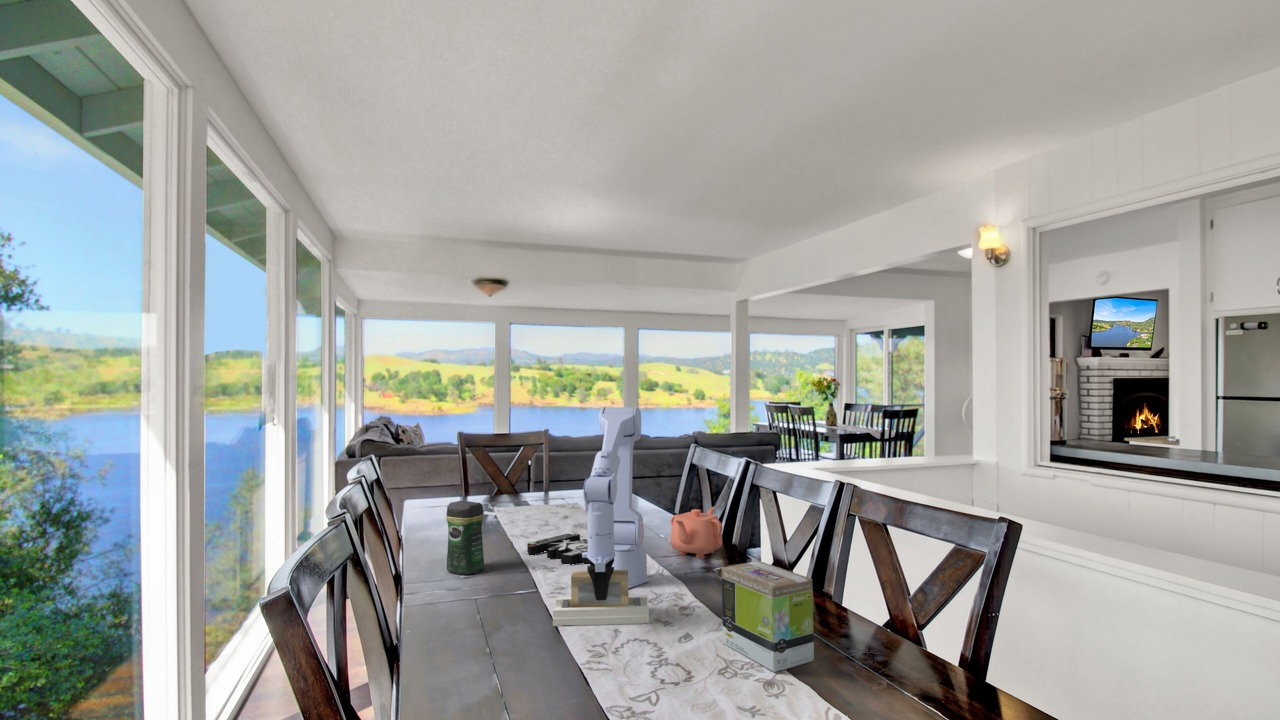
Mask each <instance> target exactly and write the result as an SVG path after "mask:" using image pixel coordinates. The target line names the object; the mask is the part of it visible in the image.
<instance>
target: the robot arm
mask: <svg viewBox="0 0 1280 720" xmlns="http://www.w3.org/2000/svg"><path fill="white" fill-rule="evenodd" d="M598 425H599V429H600V431H601V434H603V441H602V448H601V450H599V451H598V452H597V453H596V455H595V456H594V459H593V460H594V461H593V465H592V468H591V473H590V476H589V477H588V478H585V480H584V482H583V483H584V484H583V491H582V492H583V493H582V494H583V500H584V507H585V508H584V510H585V512H587V513H586V515H587V516H586V517H587V518H586V519H587V521H586V522H587V526H586V527H587V539H588V552H583V553H582V557H583V558H588V559H589V564H590V565H587V566H586V567H587V568H586V571H588V573H589V575H590V577H591V580H592V583H593V587H594V593H595V597H596V600H606V598H607V593H608V586H609V581H610V578H611V575H612V573H613V571H614V570H628V589H631V588H633V587H636V586H639V585H642V584H646V583H647V582H650V579H649V578H647V577H648V568H647V567H648V566H647V563H648V562H647V561H648V560H647V559H648V558H647V552H646V550H645V548H644V546H642V545H643V543H644V538H645V537H644V536H645V534H644V533H645V530H644V529H645V528H644V518H643V516H642V514H641V513H640V512H639V511H638V510H637V509H635V508H634V507H633V465H634V464H633V463H634V462H633V461H634V460H633V457H634V455H633V454H634V452H633V451H634V445H635V442H637V441H639V440H641V436H642V413H641V409H640V408H639V407H638V406H634V407H631V406H630V407H626V406H625V407H606V406H602V408H601V409H600V410H599V414H598Z"/></svg>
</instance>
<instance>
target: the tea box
mask: <svg viewBox="0 0 1280 720" xmlns="http://www.w3.org/2000/svg"><path fill="white" fill-rule="evenodd" d="M739 564H740V565H734V566H729V567H725V566H723V568H722V567H721V568H722V582H721V610H722V612H721V615H722V616H721V619H722V620H721V621H722V644H724V645H726V646H728V647H729V648H731V649H732V650H735V651H737V652H738V653H740V654H742V655H743V656H745V657H747V658H749V659H751V660H752V661H754V662H756V663H758V664H760V665H762V666H763V667H765V668H767V669H768V670H770V671H771V672H774V673H776V672H780V670H781V671H784V669H785V670H788V669H791V668H795V667H798V666H801V665H803V664H808V663H810V662H813V661H814V658H815V644H814V643H815V642H814V641H815V639H814V638H815V636H814V599H813V598H814V597H813V596H814V593H813V592H814V591H813V590H814V588H813V579H812V578H810V577H808V576H804V575H802V574H799V573H796V572H793V571H789V570H787V569H784V568H782V567H778V566H775V565H773V564H769V563H766V562H764V561H761V560H756V561H750V562H745V563H739Z"/></svg>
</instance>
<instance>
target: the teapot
mask: <svg viewBox="0 0 1280 720" xmlns="http://www.w3.org/2000/svg"><path fill="white" fill-rule="evenodd" d="M715 509H716V506H711V507H710V508H709V509H708V510H707V513H706V512H705V513H704V512H702V509H697V508H694V509H691V510H690V511H687V512H684V513H680V514H679V513H678V514H675V515H673V516H672V517H671V519H670V524H671V532H670V544H671V548H672V550H675V551H679V552H678V553H677V556H681V555H683V556H687V554H688V553H689V554H690V553H691V554H695V558H696V559H698V558H704V559H705V558H706V556H705V555H707V554H708V555H709V553H714V554H716V551H717V550H719V549H720V548H721V547H722V545H723V529H724V528H723V523H721V521H720V520H719V517H718V515H716V514H714V512H715Z"/></svg>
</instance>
